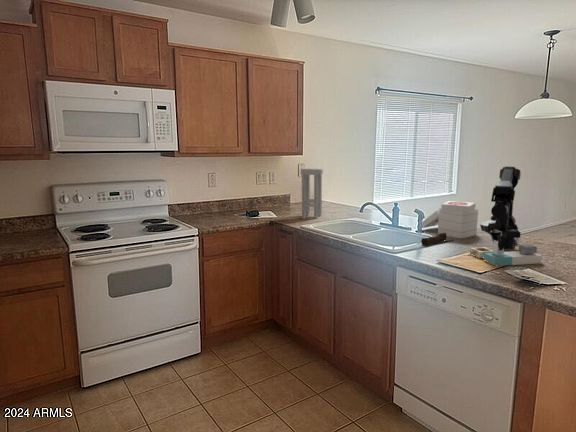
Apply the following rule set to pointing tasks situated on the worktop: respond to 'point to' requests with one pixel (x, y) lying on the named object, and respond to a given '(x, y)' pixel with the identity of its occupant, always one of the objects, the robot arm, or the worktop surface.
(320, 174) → the stool
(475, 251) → the frame
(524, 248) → the gray rectangular block
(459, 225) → the pizza boxes
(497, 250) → the pin
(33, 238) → the worktop surface
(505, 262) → the dock
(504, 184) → the robot arm
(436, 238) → the hand tool
